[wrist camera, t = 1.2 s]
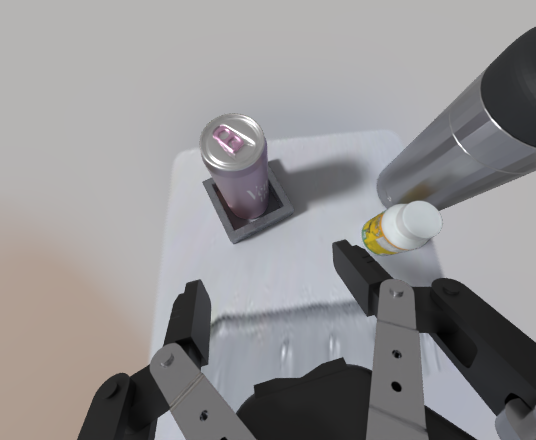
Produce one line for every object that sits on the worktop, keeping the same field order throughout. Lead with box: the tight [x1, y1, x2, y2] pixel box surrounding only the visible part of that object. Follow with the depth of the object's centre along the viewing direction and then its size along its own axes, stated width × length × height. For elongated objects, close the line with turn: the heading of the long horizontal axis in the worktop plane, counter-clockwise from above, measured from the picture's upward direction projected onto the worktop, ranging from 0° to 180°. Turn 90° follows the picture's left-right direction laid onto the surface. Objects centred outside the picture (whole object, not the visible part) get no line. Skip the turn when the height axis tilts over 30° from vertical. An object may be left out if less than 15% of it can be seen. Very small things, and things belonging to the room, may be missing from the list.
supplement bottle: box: [361, 201, 443, 256], centre depth 27 cm, size 5×5×10 cm
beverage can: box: [200, 113, 269, 219], centre depth 26 cm, size 6×6×15 cm
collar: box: [202, 165, 294, 244], centre depth 32 cm, size 10×10×2 cm
